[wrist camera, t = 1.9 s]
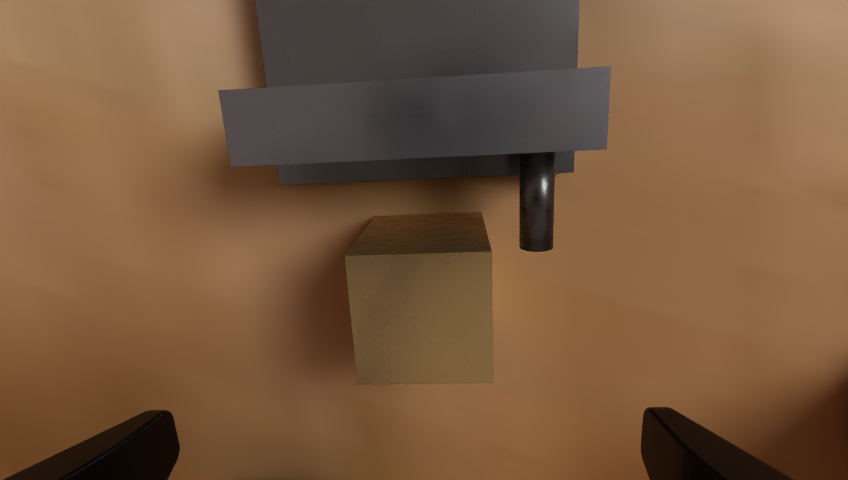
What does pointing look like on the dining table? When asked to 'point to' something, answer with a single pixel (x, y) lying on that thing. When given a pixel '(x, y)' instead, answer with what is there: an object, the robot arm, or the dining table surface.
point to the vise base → (412, 62)
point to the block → (422, 300)
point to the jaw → (430, 126)
